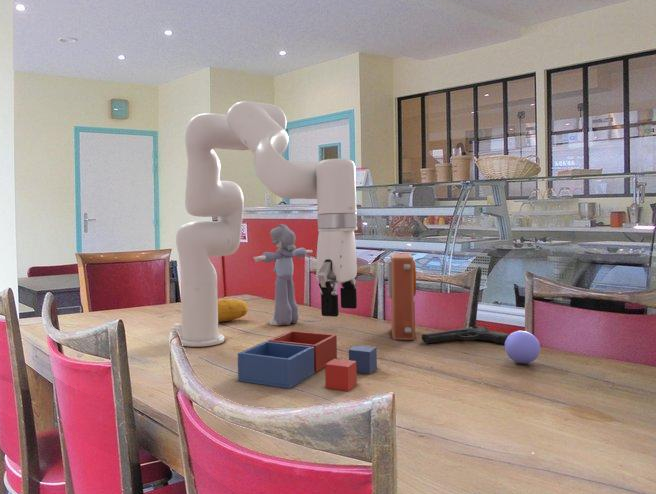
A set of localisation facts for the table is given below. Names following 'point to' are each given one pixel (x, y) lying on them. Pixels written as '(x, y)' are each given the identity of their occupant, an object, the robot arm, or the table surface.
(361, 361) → the blue block
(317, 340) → the red bin
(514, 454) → the table surface
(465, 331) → the handgun
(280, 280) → the toy
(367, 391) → the table surface
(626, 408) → the table surface
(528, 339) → the sphere
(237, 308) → the potato
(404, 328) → the control panel
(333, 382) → the red block
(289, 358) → the blue bin
